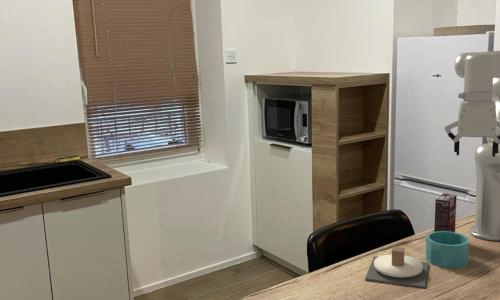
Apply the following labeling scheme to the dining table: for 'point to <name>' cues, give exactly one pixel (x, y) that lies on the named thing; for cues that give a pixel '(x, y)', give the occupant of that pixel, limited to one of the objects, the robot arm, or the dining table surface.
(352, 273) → the dining table surface
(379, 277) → the mat
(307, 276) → the dining table surface
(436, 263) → the bowl
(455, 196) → the supplement box
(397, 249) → the lid
